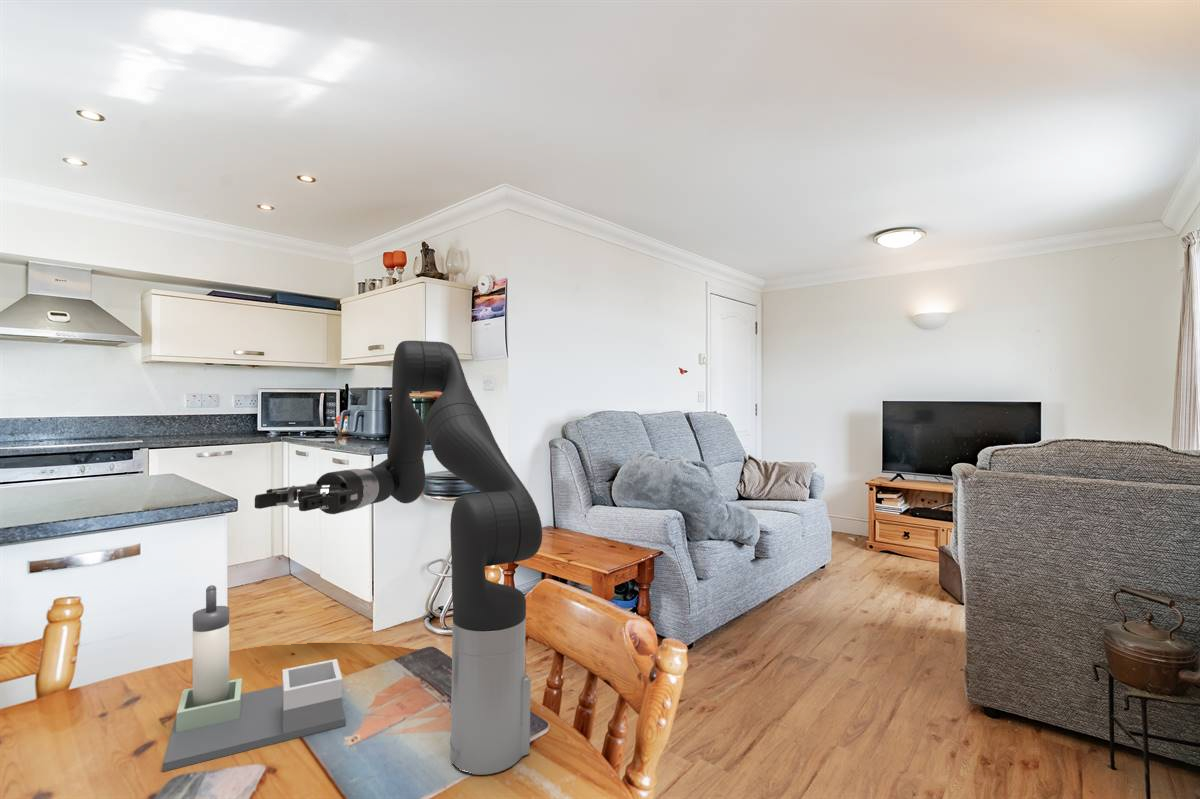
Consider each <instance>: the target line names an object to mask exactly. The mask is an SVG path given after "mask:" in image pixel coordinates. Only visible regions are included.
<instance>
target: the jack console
mask: <svg viewBox="0 0 1200 799" xmlns="http://www.w3.org/2000/svg"><path fill="white" fill-rule="evenodd" d="M281 673H282V676H281V677H282V678H281V680H282V681H281V683H282V684H280V685H278V686H273V687H268V688H264V689H259V690H254V691H250V692H249V691H248V692H244V693H242V692H243V691H242V690H243V678H237V679H232V680H231V679H229V700H226V701H221V702H217V703H212V704H207V705H202V706H198V707H193V687H191V688H185V689H183V690H182V693H181V696H180V700H179V703H178V707H177V711H176V717H175V720H174V722H173V727H172V731H171V733H170V737H169V741H168V744H167V748H166V750H165V751H166V752H165V754H164V758H163V761H162V772H163V773H164V772H167V771H172V770H175V769H179V768H185V767H187V766H192V765H195V764H199V763H203V762H207V761H211V760H216V759H219V758H223V757H227V756H231V755H235V754H239V753H242V752H247V751H251V750H255V749H258V748H263V747H266V746H270V745H273V744H279V743H282V742H286V741H291V740H294V739H298V738H302V737H305V736H310V735H314V734H318V733H321V732H325V731H330V730H333V729H337V728H341V727H345V726H346V720H347V719H346V714H345V710H344V707H343V677H342V676H343V675H342V672H341V668H340V665H339V660H338V658H334V659H330V660H325V661H319V662H314V663H309V664H303V665H298V666H294V667H289V668H283V669H282V672H281Z"/></svg>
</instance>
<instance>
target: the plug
mask: <svg viewBox="0 0 1200 799" xmlns="http://www.w3.org/2000/svg"><path fill="white" fill-rule="evenodd" d="M229 681H230V607H229V606H226V605H217V587H216V585H211V584H210V585H208V586H207V587H206V589H205V607H204V608H201V609H198V610H196V611H194V612H193V613H192V688H193V707H198V706H202V705H207V704H212V703H217V702H221V701H226V700H229Z"/></svg>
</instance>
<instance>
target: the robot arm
mask: <svg viewBox="0 0 1200 799" xmlns="http://www.w3.org/2000/svg"><path fill="white" fill-rule="evenodd" d="M396 346H397V347H396V348H395V351H394V355H393V362H392V376H391V377H392V378H391V382H392V383H391V428H390V435H389V440H388V446H387V452H386V457H387V458H386V459H385V460H383V461H382V462H380V463H378V464H376V465H375V466H373V467H369V468H353V469H344V470H337V471H330V472H326V473H324V474H322V475H321V476H320V477H319V478H318V479H317V480H316V482H315V483H307V484H306V485H298V486H297V485H291V486H286V487H285V486H284V487H279V488H269V489H266V493H260V494H256V495H255V496H254V508H255V509H259V510H260V509H266V508H270V507H278V506H287V507H289V508H298V511H300V512H307V511H311V510H316V509H319V510H320V511H321V512H324V513H325V514H327V515H328V514H329V515H337V514H341V513H344V512H349V511H350V512H351V511H354V510H358V509H361V508H363V507H366V506H369V505H372V504H376V503H377V504H378V503H380V502H384V501H385V500H387V499H389V498H390V496H391V497H392V498H393V499H395V500H396V501H397V502H400V503H401V504H410V503H413V502H415V501H417V500H418V499H419V498H420V496H421V495H422V494H423V492H424V489H425V486H426V479H427V478H426V470H425V462H424V458H423V457H424V453H425V449H426V444H427V440H428V442H429V444H430V446H431V450H432V452H433V454H434V456H435V458H436V460H437V461H438V462H439V463H440V465H441V466H443V467H444V469H446V470H448V471H449V472H450V473H452V475H454V476H456V477H457V478H459V479H460V480H462V481H464V482H465V483H466V484H468V485H470V486H472V487H473V488H475V489H476V490H478V491H479V492H476V493H475V492H472V493H466V494H462V495H460V496H459V497H457V498H456V500H455V501H454V502H453V506H452V509H451V514H450V525H449V526H450V528H449V530H450V551H451V555H450V556H451V597H452V598H451V599H452V634H451V635H452V636H451V639H452V641H451V644H452V645H451V647H452V649H451V693H450V694H451V695H450V696H451V697H450V706H451V707H450V739H449V746H450V754H449V755H450V756H449V757H450V761H452V762H453V763H452V762H451V763H452V765H453V764H454V765H455V766H456V767H457V768H456V767H455V766H454V765H453V766H454V767H455V768H456V769H458V768H459V769H461V770H465V771H468V772H471V773H472V774H471V775H477V776H478V775H479V776H481V775H492V774H496V773H500V772H502V771H505V770H507V769H509V768H511V767H513V766H514V765H515V764H517V763H518V762H519V760H520V759H522V758H523V757H524V756H527V755H529V754H530V752H531V751H530V744H531V740H530V739H531V699H532V698H531V695H532V694H531V693H532V692H531V691H532V690H531V688H532V686H531V685H532V684H531V683H532V682H531V681H532V680H531V678H530V677H529V675H527V672H526V621H527V617H526V616H527V599H526V596H525V594H524V593H523V592H522V591H521V590H519V589H518V588H516V587H514V586H510V585H507V584H502V583H498V582H493V581H490V580H489V579H487V577H486V567H492V566H499V565H503V564H504V565H505V564H510V563H511V564H512V563H518V562H522V561H525V560H528V559H530V558H533V557H535V555H536V554H537V553H538V552H539V550H540V548H541V546H542V542H543V527H542V525H543V524H542V520H541V517H540V513H539V510H538V508H537V505H536V503H535V501H534V500H533V497H532V496H531V493H530V492H529V491H528V489H527V487H526V486H525V485H524V483H523V482H522V481H521V479H520V478H519V477H518V475H517V473H516V472H515V471H514V469H513V468H512V467H511V464H509V462H508V461H507V459H506V457H505V455H504V453H503V452H502V450H501V448H500V447H499V444H498V443H497V441H496V439H495V437H494V435H493V432H492V430H491V428H490V425H489V424H488V421H487V419H486V417H485V416H484V414H483V412H482V410H481V408H480V406H479V405H478V403H477V401H476V400H475V397H474V395H473V393H472V391H471V389H470V386H469V384H468V382H467V379H466V376H465V374H464V371H463V367H462V365H461V362H460V359H459V356H458V355H459V354H458V353H457V351H456V350H455V348H454V347H453V345H451V344H449V343H446V342H443V341H428V340H427V341H426V340H425V341H424V340H403V341H401V342H399V343H398V344H397V345H396ZM411 392H427V393H428V392H431V393H432V392H435V393H436V392H438V393H439V392H440V393H441V394H440V395H438V397H437V399H436V400H435V401H434V402H433V404H432V405H431V407H430V409H429V411H428V413H427V415H426V418H425V422H424V420H423V419H422V417H421V415H420V414H419V413H418V411H417V409H416V408H415V406H414V404H413V402H412V400H411V395H410V393H411ZM296 501H297V502H296ZM459 769H458V770H459ZM461 770H460V771H461Z"/></svg>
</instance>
